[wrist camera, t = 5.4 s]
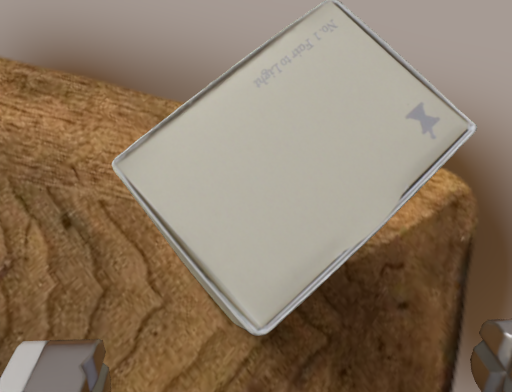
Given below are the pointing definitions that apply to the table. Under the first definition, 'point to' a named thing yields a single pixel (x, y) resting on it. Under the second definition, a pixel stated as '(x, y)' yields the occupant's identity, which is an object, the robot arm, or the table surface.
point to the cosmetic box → (291, 162)
